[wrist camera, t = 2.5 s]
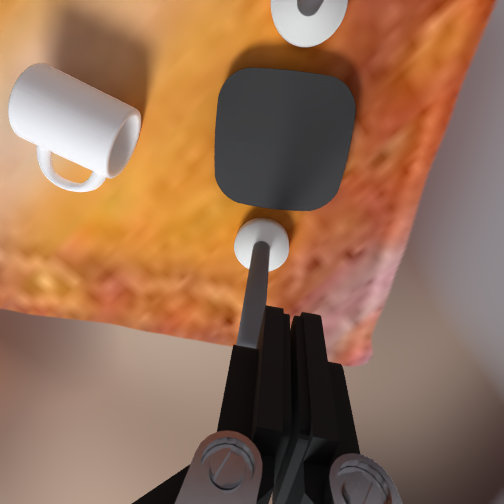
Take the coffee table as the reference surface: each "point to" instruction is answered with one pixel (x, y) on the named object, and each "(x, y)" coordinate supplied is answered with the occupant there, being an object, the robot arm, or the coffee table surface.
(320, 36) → the post
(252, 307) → the far cord post
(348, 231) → the coffee table surface
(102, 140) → the mug
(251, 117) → the media streaming box
